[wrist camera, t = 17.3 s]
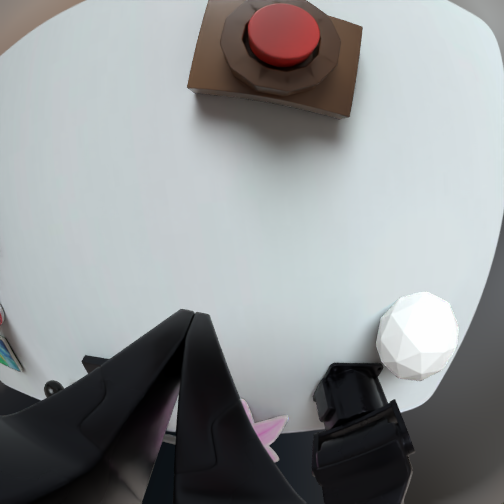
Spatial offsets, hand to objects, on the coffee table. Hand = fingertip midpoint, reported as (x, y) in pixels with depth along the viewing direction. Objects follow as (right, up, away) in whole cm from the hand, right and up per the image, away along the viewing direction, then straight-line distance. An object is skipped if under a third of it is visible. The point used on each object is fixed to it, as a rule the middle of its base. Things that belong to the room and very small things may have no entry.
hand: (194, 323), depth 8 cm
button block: (+3, +15, +7) cm, 17 cm away
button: (+3, +14, +4) cm, 14 cm away
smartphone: (-44, -14, +20) cm, 51 cm away
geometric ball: (+16, -4, +15) cm, 22 cm away
